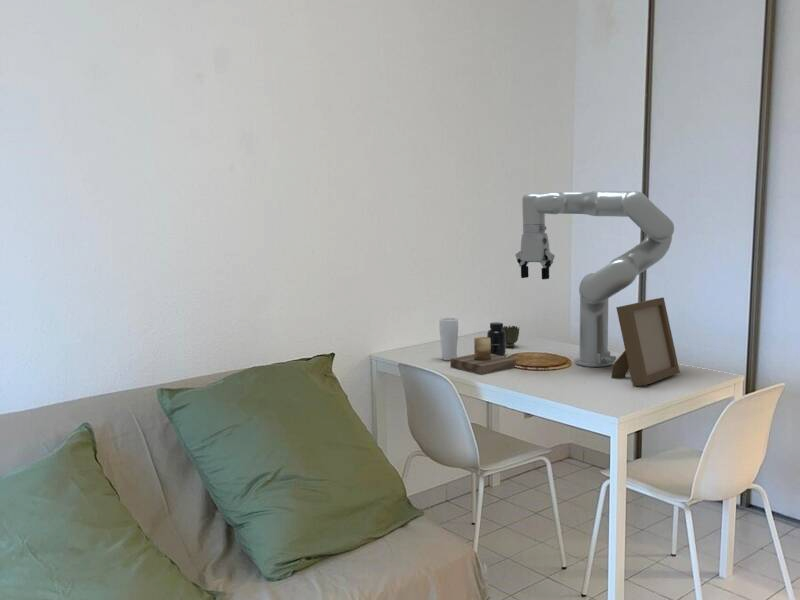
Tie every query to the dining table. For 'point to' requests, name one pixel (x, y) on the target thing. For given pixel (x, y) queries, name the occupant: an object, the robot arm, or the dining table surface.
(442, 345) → the drinking glass
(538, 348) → the dining table surface
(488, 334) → the supplement bottle
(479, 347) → the tan translucent cylinder
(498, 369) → the walnut socket block
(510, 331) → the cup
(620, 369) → the photo frame
